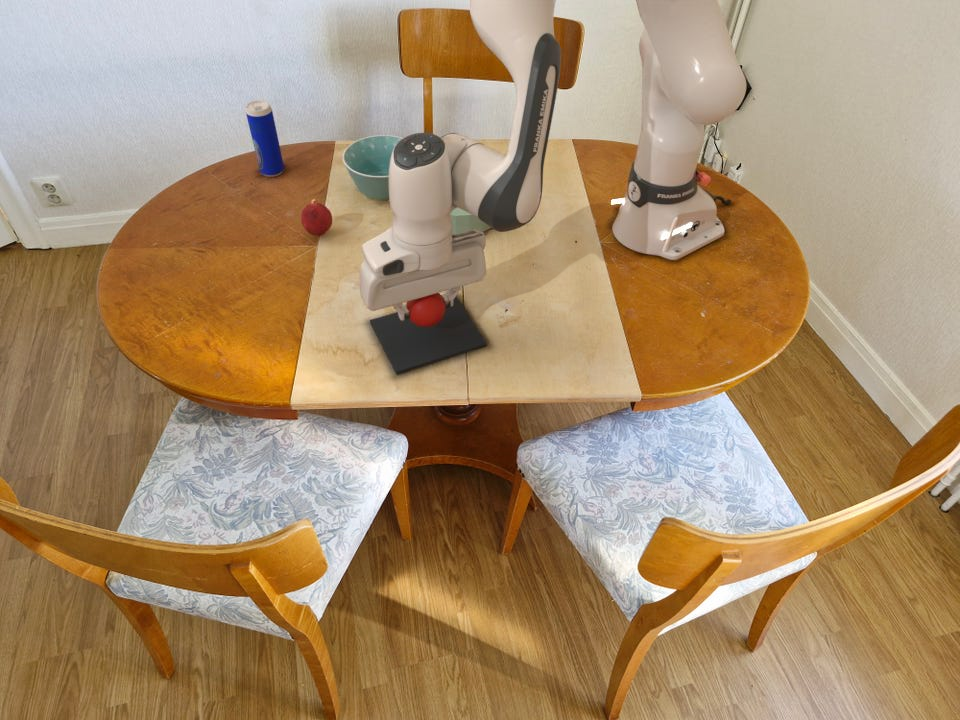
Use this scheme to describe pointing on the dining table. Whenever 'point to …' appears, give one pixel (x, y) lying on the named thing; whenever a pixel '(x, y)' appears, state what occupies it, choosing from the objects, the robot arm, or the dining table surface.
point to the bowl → (371, 164)
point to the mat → (427, 338)
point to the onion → (316, 218)
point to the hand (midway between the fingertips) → (425, 311)
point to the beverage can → (265, 138)
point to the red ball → (426, 310)
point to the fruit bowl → (466, 222)
